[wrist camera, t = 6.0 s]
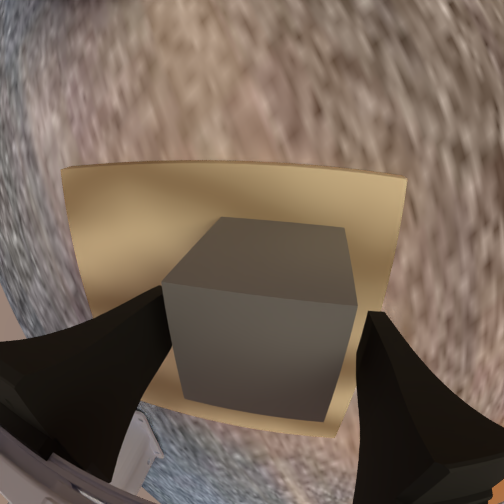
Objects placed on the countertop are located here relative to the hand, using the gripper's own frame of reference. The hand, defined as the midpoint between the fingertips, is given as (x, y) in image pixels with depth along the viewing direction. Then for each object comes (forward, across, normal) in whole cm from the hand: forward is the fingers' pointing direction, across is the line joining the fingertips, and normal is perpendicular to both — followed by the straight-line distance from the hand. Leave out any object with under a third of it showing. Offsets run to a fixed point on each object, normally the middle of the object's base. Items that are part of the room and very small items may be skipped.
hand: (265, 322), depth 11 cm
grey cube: (+3, 0, 0) cm, 3 cm away
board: (+4, +4, +4) cm, 7 cm away
